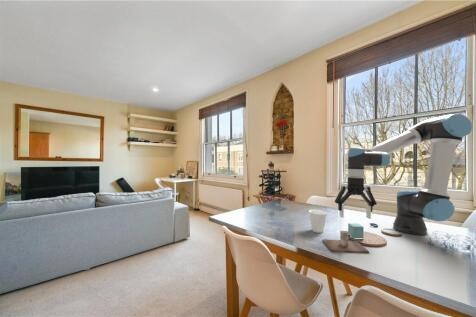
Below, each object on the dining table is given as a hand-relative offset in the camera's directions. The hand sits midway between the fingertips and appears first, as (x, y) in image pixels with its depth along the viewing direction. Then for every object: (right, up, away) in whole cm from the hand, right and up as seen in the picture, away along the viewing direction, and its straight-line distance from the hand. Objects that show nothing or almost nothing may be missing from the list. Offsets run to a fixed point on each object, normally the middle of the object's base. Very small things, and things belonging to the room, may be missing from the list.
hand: (354, 217), depth 106 cm
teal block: (0, -11, 0) cm, 11 cm away
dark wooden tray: (-12, -10, -11) cm, 19 cm away
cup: (-16, -11, +9) cm, 21 cm away
